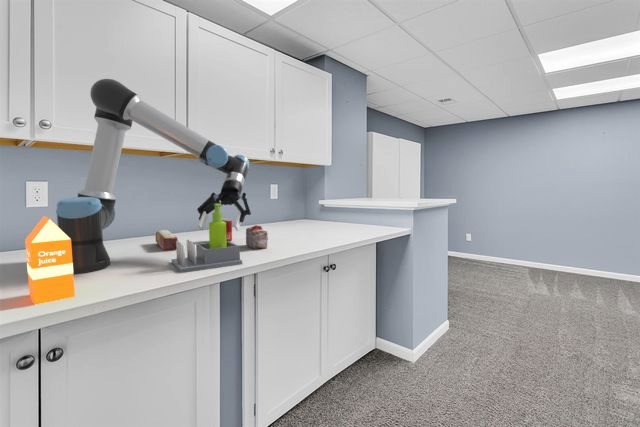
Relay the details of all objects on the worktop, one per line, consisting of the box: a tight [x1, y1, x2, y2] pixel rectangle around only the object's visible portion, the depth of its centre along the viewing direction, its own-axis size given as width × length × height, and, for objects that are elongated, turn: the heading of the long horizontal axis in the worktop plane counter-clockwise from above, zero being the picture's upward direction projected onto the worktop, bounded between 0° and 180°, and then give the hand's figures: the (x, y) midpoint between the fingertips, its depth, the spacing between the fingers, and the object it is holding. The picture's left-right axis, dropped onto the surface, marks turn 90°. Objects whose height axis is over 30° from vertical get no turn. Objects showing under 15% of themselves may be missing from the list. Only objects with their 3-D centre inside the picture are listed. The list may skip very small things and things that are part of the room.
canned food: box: [222, 217, 233, 242], centre depth 157 cm, size 8×8×11 cm
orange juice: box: [24, 215, 76, 305], centre depth 79 cm, size 8×9×20 cm
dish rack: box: [171, 239, 243, 274], centre depth 113 cm, size 20×16×8 cm
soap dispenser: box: [208, 204, 227, 249], centre depth 114 cm, size 6×7×20 cm
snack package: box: [155, 229, 179, 252], centre depth 142 cm, size 21×7×7 cm, turn 34°
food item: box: [245, 224, 269, 250], centre depth 143 cm, size 14×8×10 cm, turn 31°
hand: (218, 228), depth 114 cm, fingers open, 13 cm apart
